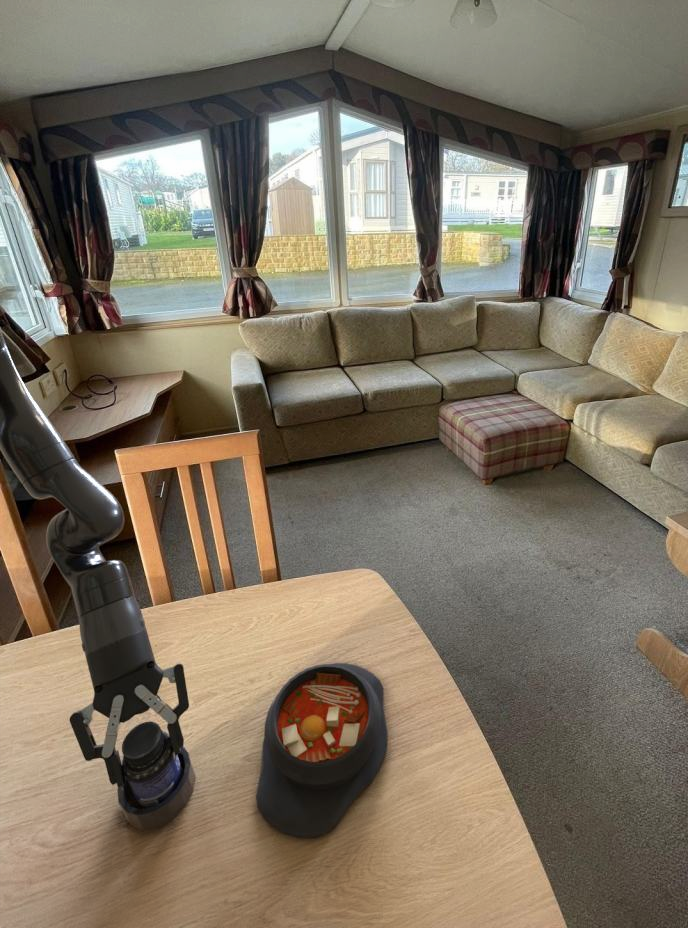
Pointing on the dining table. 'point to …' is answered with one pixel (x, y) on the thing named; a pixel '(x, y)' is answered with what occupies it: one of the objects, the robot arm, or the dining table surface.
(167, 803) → the ring
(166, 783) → the pill bottle
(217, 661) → the dining table surface
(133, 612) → the robot arm
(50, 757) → the dining table surface
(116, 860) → the dining table surface
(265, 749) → the casserole
